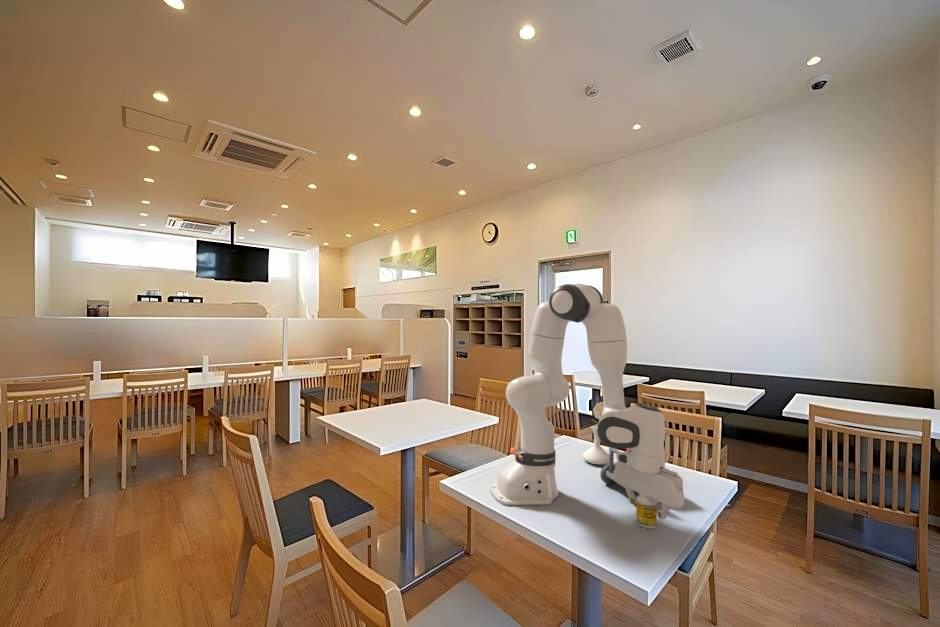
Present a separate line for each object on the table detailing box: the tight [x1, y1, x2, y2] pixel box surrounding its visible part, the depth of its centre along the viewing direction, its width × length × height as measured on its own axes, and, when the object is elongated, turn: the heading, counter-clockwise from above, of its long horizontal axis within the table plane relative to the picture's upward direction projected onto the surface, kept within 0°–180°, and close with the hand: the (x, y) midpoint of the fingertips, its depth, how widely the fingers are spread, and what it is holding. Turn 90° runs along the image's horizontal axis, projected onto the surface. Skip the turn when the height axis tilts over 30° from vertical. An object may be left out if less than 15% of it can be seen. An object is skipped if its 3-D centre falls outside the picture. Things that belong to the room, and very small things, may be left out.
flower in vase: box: [582, 401, 609, 466], centre depth 160 cm, size 13×11×25 cm
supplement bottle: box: [635, 492, 658, 529], centre depth 113 cm, size 5×5×10 cm
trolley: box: [600, 447, 640, 498], centre depth 133 cm, size 19×17×14 cm
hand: (647, 510), depth 112 cm, fingers open, 8 cm apart
